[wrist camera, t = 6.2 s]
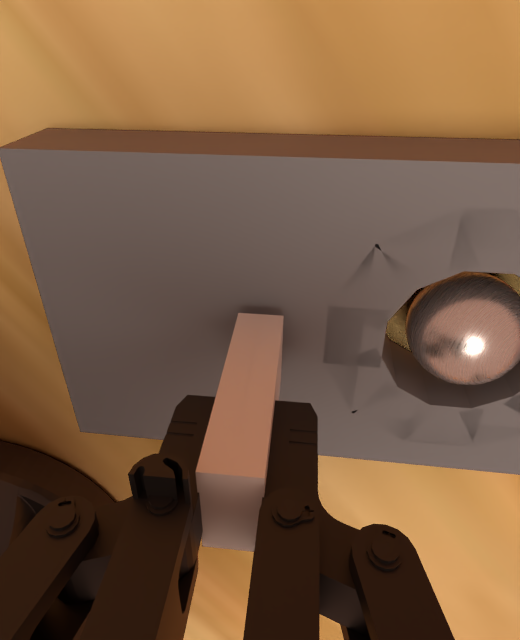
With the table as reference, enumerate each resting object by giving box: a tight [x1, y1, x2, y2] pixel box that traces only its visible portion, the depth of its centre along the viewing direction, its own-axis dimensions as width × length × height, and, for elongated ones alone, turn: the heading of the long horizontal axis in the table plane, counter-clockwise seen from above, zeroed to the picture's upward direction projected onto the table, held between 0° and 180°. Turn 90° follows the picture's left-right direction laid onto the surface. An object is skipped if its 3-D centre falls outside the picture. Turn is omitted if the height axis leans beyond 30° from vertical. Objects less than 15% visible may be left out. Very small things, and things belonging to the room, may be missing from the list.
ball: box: [406, 271, 520, 385], centre depth 17 cm, size 4×4×4 cm
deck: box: [0, 128, 520, 475], centre depth 18 cm, size 20×12×3 cm, turn 91°
